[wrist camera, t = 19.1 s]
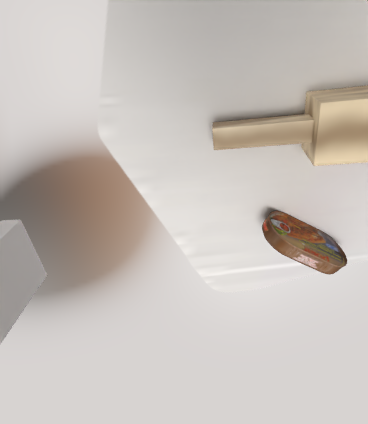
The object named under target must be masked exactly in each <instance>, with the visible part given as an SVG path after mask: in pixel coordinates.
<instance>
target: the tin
mask: <svg viewBox="0 0 368 424" xmlns="http://www.w3.org/2000/svg"><path fill="white" fill-rule="evenodd" d="M262 230H263V233H264V236H265V238H266V240H267V241H268V242H269V244H270V245H271V246H272V247H273V248H274V249H276V250H277V251H278V252H280V253H281V254H283V255H285V256H287V257H289V258H291V259H293V260H295V261H298V262H300V263H302V264H304V265H306V266H309V267H311V268H313V269H315V270H317V271H320V272H322V273H325V274H334V273H335V272H337V271H338V270H339V269H341V268H342V267H344V266H345V265H346V264H347V258H346V255H345V253H344V252H343V250H342V249H341V248H340V246H339V245H338V244H337V243H336V242H335V241H334V240H333V239H332V238H331V237H330V236H328V235H327V234H325V233H324V232H322V231H320V230H318V229H316V228H314V227H312V226H310V225H308V224H306V223H304V222H302V221H300V220H298V219H296V218H294V217H292V216H290V215H288V214H286V213H283V212H279V211H273V212H271V213H270V214H269V216H268V217H267V219H266V220H265V221H264V222H263V225H262Z"/></svg>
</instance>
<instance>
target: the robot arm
mask: <svg viewBox="0 0 368 424" xmlns="http://www.w3.org/2000/svg"><path fill="white" fill-rule="evenodd" d="M46 276H47V273H46V271H45V269H44V267H43V265H42V263H41V261H40V259H39V257H38V255H37V253H36V250H35V248H34V246H33V245H32V242H31V240H30V238H29V236H28V234H27V232H26V230H25V228H24V226H23V224H22V222H21V220H3V221H1V222H0V344H1V342H2V341H3V339H4V338H5V337H6V335H7V334H8V332H9V331H10V329H11V328H12V326H13V325H14V323H15V322H16V320H17V319H18V317H19V316H20V314H21V313H22V311H23V310H24V308H25V307H26V305H27V304H28V303H29V301H30V300H31V298H32V297H33V295H34V294H35V292H36V291H37V289H38V288H39V286H40V285H41V283H42V282H43V280H44V279H45V277H46Z"/></svg>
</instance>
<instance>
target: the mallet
mask: <svg viewBox="0 0 368 424" xmlns="http://www.w3.org/2000/svg"><path fill="white" fill-rule="evenodd" d="M212 130H213V144H214V150H223V149H235V148H248V147H261V146H273V145H286V144H299V143H302V149H303V150H304V152H305V153H306V155H307V156H308V158H309V159H310V161H311V162H312V164H313V165H314V166H320V165H334V164H349V163H364V162H368V86H358V87H348V88H338V89H329V90H319V91H309V92H307V93H306V104H305V114H301V115H290V116H279V117H268V118H257V119H247V120H236V121H225V122H214V123H213V127H212Z"/></svg>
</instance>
